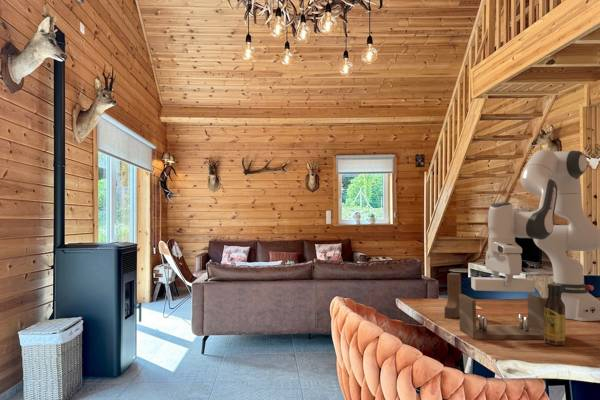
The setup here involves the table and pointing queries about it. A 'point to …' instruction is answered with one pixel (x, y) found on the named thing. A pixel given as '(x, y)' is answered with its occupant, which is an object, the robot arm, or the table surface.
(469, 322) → the brown open-topped frame
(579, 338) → the table surface
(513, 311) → the table surface
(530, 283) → the white rectangular block
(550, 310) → the sauce bottle
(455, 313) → the wooden block
